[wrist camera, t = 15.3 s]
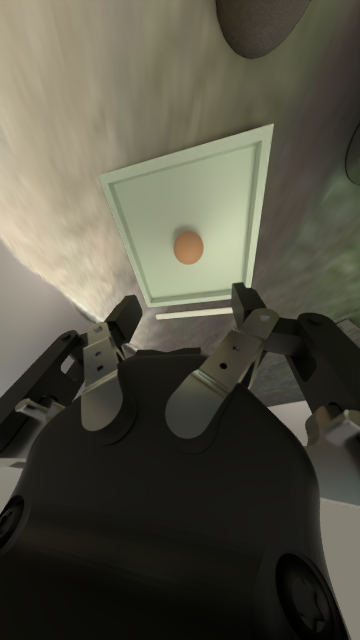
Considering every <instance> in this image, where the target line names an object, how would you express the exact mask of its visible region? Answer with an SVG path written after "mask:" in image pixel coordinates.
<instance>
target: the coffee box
mask: <svg viewBox="0 0 360 640" xmlns="http://www.w3.org/2000/svg"><path fill="white" fill-rule="evenodd" d="M336 325H337V326H338V327H339V328H340V329H341V330H342V331H343V332H344V333H345V334H346V335H347V336H348V337H349V338H350V339H351V340H352V341H353V342H354V343H355V344H356V345H357V346H358V347H359V348H360V328H359V327H357V326H356V325H355V324H353V323H352V322H351V321H350V320H348V319H346V320H344V321H342V322H340V323H338V324H336Z"/></svg>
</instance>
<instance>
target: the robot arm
mask: <svg viewBox="0 0 360 640" xmlns="http://www.w3.org/2000/svg"><path fill="white" fill-rule="evenodd" d="M346 169H347V174H348V176H349V178H350V180H351V181H352V182H354V183H355V184H358V185H360V125H359V127H358V129H357V131H356V133H355V135H354V137H353V139H352V142H351V144H350V147H349V151H348V154H347V161H346ZM231 307H232V311H233V314H234V317H235V320H236V324H237V327H238V329H237V328H233V329H232V330H231V331H230V332H229V333H228V335H227V336H226V337H225V338H224V339H223V341H222V342H221V343H220V344H219V345H218V346H217V348H216V349H215V350H214V351H213V352H212V354H211V355H208V354H205V353H201V348H183V349H179V350H175V351H171V352H161V351H156V350H137V352H136V354H135V355H134V356H131V357H129V358H127V357H126V355H125V352H124V349H123V347H122V346H121V345H122V344H127V343H129V342H130V340H131V338H132V336H133V334H134V332H135V330H136V328H137V326H138V324H139V322H140V319H141V317H142V309H141V306H140V304H139V302H138V299H137V297H136V296H135V295H129V296H125V297H124V299H123V300H122V301H121V303H119V304H118V305H117V306H116V307H115V308H114V310H113V311H112V312H111V313H110V315H109V316H108V317H107V318H106V320H105V321H104V322H99V323H97V324H95V325H93V326H92V327H90V328H89V329H88V332H87V333H85V334H81V335H79V334H78V333H77V331H75V330H71V331H68V332H66V333H64V334H62V335H61V336H59V337H58V338H57V339H56V340H55V341H54V342H53V344H52V345H51V346H50V347H49V348H48V349H47V350H46V351H45V352H44V353H43V354H42V355H41V356H40V357H39V358H38V359H37V360H36V361H35V362H34V363H33V364H32V365H31V366H30V368H29V369H28V370H27V371H26V372H25V373H24V374H23V375H22V376H21V377H20V378H19V379H18V380H17V381H16V382H15V383H14V384H13V385H12V386H11V387H10V388H9V389H8V390H7V391H6V393H5V394H4V395H3V396H2V397H1V398H0V467H8V466H9V467H15V468H23V471H22V473H21V476H20V478H19V481H18V483H17V485H16V487H15V489H14V491H13V493H12V495H11V497H10V499H9V501H8V503H7V505H6V506H5V508H4V510H3V511H2V512H1V514H0V640H351V637H350V635H349V632H348V630H347V627H346V624H345V621H344V619H343V616H342V613H341V610H340V608H339V605H338V602H337V599H336V597H335V593H334V591H333V587H332V584H331V581H330V577H329V574H328V570H327V565H326V561H325V556H324V551H323V546H322V538H321V531H320V501H323V502H327V503H332V504H336V505H342V506H346V507H350V508H356V509H360V348H359V347H358V346H357V345H356V344H355V343H354V342H353V341H352V340H351V339H350V338H349V337H348V336H347V335H346V334H345V333H344V332H343V331H342V330H341V329H340V328H339V327H338V326H337V325H336V324H335V323H334V322H333V321H332V320H331V319H330V318H328V317H326V316H324V315H321V314H317V313H303V314H300V315H299V316H298V318H297V320H295V319H286V318H281V317H279V315H278V313H277V312H275V311H273V310H271V309H267V307H266V306H265V304H264V303H263V301H262V299H260V296H259V295H258V293H257V292H256V290H254V289H252V288H246V287H245V285H244V283H243V282H238V283H232V292H231ZM268 352H273V353H278V354H283V355H285V357H286V359H287V361H288V363H289V366H290V368H291V370H292V372H293V374H294V376H295V378H296V380H297V382H298V385H299V387H300V389H301V391H302V393H303V395H304V397H305V399H306V401H307V403H308V405H309V408H310V410H311V412H312V415H311V416H310V417H309V418H308V419H307V421H306V424H305V428H306V432H307V436H308V444H307V446H302V444H301V442H300V441H299V440H298V438H297V437H296V436H295V435H294V434H293V433H292V431H291V430H290V429H288V428H287V426H285V425H284V424H283V423H282V422H281V421H280V420H279V419H278V418H277V417H276V416H275V415H274V414H273V413H272V412H271V411H270V410H269V409H268V408H267V407H266V406H265V405H264V404H263V403H262V402H261V401H260V400H259V399H258V398H257V397H256V396H255V395H254V394H253V393H252V392H251V391H250V390H249V389H250V387H251V385H252V383H253V381H254V378H255V376H256V374H257V372H258V370H259V368H260V366H261V364H262V363H263V361H264V359H265V357H266V355H267V353H268ZM68 355H69V356H70V357H71V358H72V359H73V360H74V363H73V364H72V366H71V367H70V368H69V370H68V371H67V373H66V374H64V373H63V372H62V371H61V364H62V363H63V362H64V360H65V359H66V358H67V356H68ZM84 380H85V390H84V391H83V392H82V394H81V396H79V397H78V398H77V399H75V400H74V401H73V399H74V398H75V396H76V394H77V393H78V391H79V389H80V387H81V386H82V384H83V382H84ZM72 401H73V402H72Z"/></svg>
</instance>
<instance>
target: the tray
mask: <svg viewBox="0 0 360 640" xmlns="http://www.w3.org/2000/svg"><path fill="white" fill-rule="evenodd" d="M273 126H274V123H273V124H270V125H267V126H263V127H260V128H257V129H253V130H250V131H246V132H243V133H240V134H236V135H233V136H229V137H226V138H223V139H219V140H216V141H212V142H209V143H206V144H202V145H199V146H195V147H192V148H189V149H185V150H182V151H179V152H175V153H172V154H168V155H165V156H162V157H158V158H155V159H151V160H148V161H145V162H141V163H138V164H134V165H131V166H128V167H124V168H121V169H118V170H114V171H111V172H107V173H104V174H101V175H98V178H99V181H100V183H101V186H102V189H103V191H104V194H105V196H106V199H107V202H108V204H109V207H110V209H111V212H112V215H113V217H114V220H115V223H116V225H117V228H118V230H119V233H120V236H121V238H122V241H123V244H124V246H125V249H126V251H127V254H128V257H129V259H130V262H131V264H132V267H133V270H134V272H135V275H136V278H137V280H138V283H139V285H140V288H141V291H142V293H143V296H144V299H145V301H146V304H147V306H148V307H158V306H167V305H177V304H186V303H196V302H206V301H215V300H225V299H231V292H232V283H238V282H243V283H244V285H245V287H246V288H251V282H252V275H253V268H254V261H255V254H256V247H257V239H258V232H259V225H260V218H261V211H262V204H263V197H264V190H265V183H266V176H267V169H268V162H269V155H270V147H271V140H272V133H273ZM186 231H191V232H195V233H196V234H198V235H199V236H200V238H201V239H202V241H203V246H204V249H203V254H202V256H201V258H200V259H199V260H198V261H197V262H196V263H194V264H190V265H186V264H183V263H181V262H179V261H178V260H177V258H176V257H175V254H174V243H175V240H176V238H177V237H178V236H179V235H180V234H181V233H183V232H186Z"/></svg>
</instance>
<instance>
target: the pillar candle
mask: <svg viewBox="0 0 360 640" xmlns="http://www.w3.org/2000/svg"><path fill="white" fill-rule="evenodd" d="M310 1H311V0H216V4H217V15H218V20H219V23H220V26H221V29H222V32H223V34H224V36H225V38H226V40H227V42H228V44H229V45H230V46H231V48H232V49H233V50H234V51H236V52H237V54H239V55H241V56H243V57H245V58H251V59H252V58H257V57H261V56H263V55H266V54H267V53H269V52H270V51H272V50H273V49H275V48H276V47H277V46H278V45H279V44H280V43H281V42H282V41H283V40H284V39H285V38H286V37H287V36H288V35H289V33H290V32H291V31H292V30H293V28H294V27H295V25H296V24H297V23H298V21H299V20H300V18H301V16H302V15H303V13H304V11H305V10H306V8H307V6H308V5H309V3H310Z"/></svg>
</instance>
